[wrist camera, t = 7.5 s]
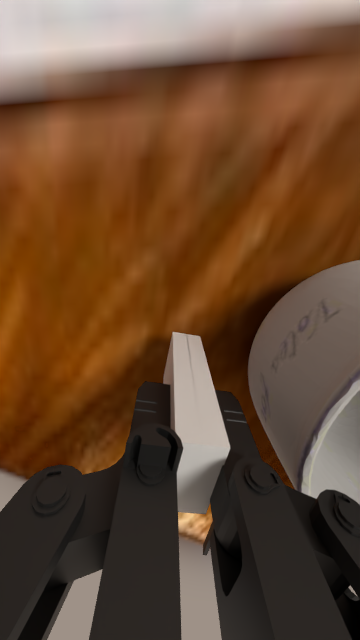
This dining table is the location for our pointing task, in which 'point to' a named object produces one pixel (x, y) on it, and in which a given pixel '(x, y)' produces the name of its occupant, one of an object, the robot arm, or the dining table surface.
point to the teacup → (313, 381)
